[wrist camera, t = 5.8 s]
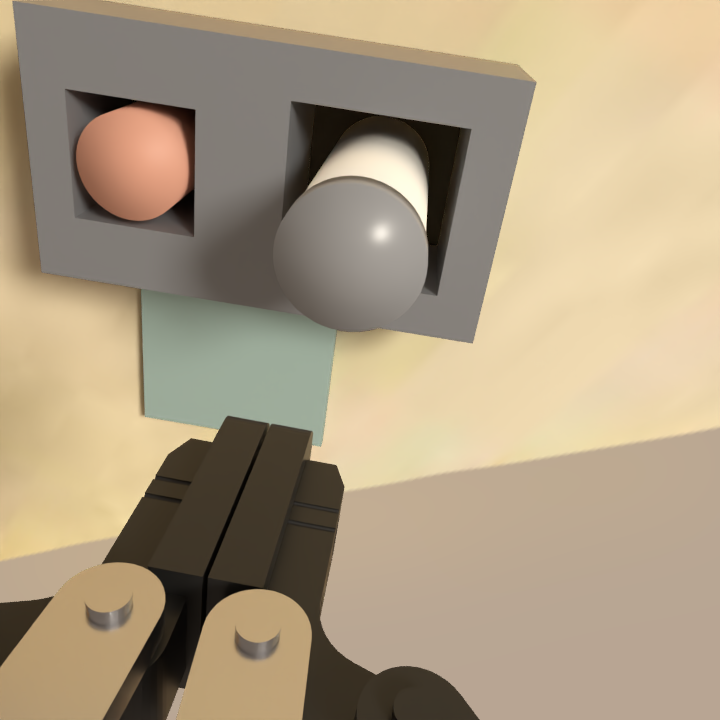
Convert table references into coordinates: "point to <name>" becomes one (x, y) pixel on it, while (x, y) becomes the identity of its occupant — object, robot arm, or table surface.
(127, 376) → the table surface
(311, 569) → the robot arm
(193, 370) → the mat
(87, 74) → the housing
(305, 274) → the cartridge
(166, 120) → the orange egg
